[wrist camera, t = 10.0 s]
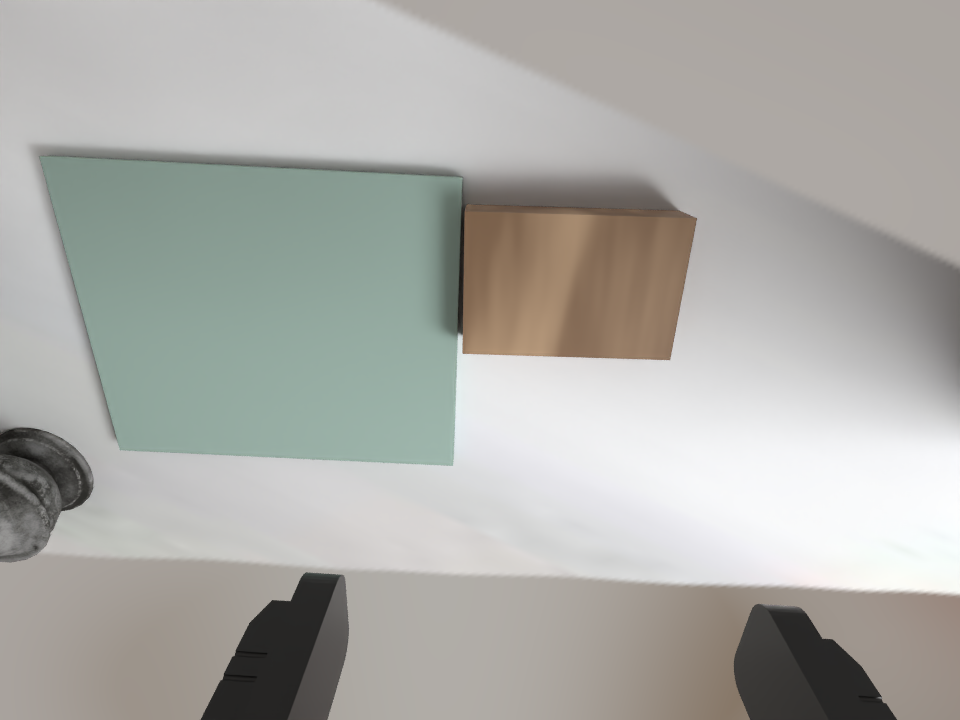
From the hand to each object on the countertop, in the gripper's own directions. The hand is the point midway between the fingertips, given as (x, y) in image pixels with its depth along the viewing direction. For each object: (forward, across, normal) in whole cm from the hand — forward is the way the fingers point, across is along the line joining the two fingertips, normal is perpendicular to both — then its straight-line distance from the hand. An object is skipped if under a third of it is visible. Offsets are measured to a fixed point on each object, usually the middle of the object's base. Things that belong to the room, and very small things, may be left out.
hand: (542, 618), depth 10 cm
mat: (+15, +11, 0) cm, 19 cm away
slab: (+15, +3, -3) cm, 15 cm away
